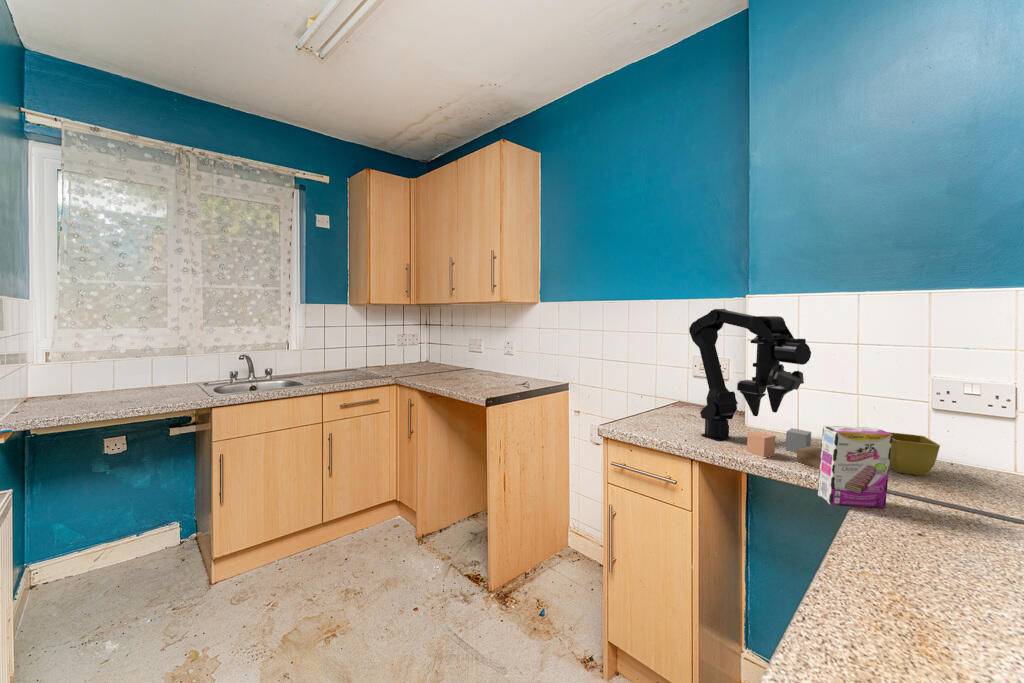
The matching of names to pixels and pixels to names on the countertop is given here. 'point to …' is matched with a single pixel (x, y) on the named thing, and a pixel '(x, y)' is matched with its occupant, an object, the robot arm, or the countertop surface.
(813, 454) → the base block
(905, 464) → the flower pot
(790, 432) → the grey block
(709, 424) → the robot arm
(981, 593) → the countertop surface
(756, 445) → the terracotta block
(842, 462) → the candy bar box
